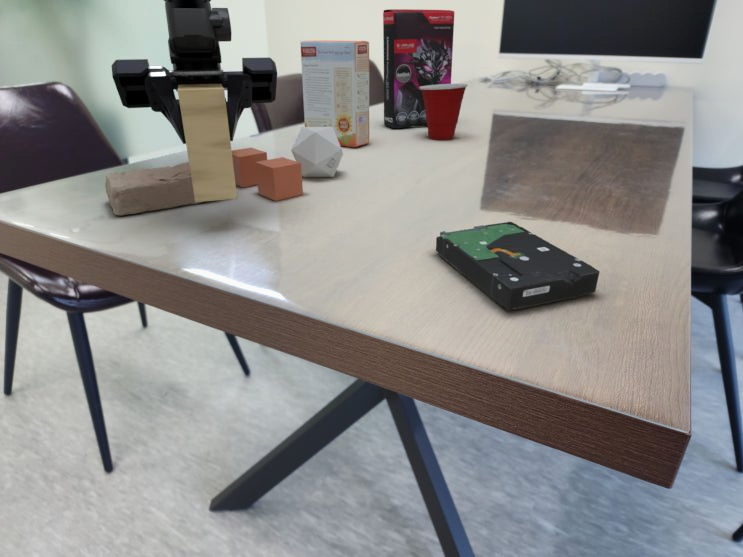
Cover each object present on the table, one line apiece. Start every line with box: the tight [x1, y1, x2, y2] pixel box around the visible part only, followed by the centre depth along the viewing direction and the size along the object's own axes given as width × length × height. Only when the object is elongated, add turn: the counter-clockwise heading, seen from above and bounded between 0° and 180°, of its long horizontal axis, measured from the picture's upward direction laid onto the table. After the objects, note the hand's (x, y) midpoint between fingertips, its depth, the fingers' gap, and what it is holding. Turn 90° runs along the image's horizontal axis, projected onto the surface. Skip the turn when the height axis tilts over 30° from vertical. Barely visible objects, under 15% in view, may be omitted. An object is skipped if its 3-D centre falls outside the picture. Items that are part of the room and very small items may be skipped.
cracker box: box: [300, 39, 370, 148], centre depth 109 cm, size 14×6×21 cm, turn 58°
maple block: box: [177, 84, 238, 203], centre depth 62 cm, size 5×5×13 cm
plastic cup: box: [420, 83, 468, 141], centre depth 117 cm, size 11×11×12 cm
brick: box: [104, 161, 202, 216], centre depth 75 cm, size 17×8×5 cm, turn 123°
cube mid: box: [255, 156, 304, 202], centre depth 78 cm, size 5×5×5 cm
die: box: [290, 126, 344, 178], centre depth 87 cm, size 8×9×10 cm
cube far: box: [231, 147, 268, 189], centre depth 84 cm, size 5×5×5 cm
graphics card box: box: [382, 8, 456, 129], centre depth 128 cm, size 17×7×27 cm, turn 115°
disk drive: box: [435, 221, 601, 310], centre depth 53 cm, size 10×3×15 cm
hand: (207, 140), depth 60 cm, fingers closed on maple block, 5 cm apart
